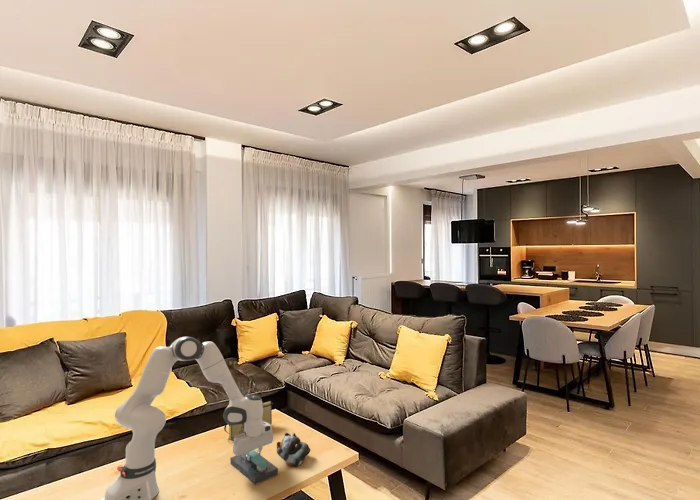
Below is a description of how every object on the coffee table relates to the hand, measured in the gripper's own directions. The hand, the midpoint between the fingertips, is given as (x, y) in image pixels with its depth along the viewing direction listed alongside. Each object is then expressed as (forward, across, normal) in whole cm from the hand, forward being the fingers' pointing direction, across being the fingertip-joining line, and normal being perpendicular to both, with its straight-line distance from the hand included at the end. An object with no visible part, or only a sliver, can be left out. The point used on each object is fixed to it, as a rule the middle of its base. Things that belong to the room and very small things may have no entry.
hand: (253, 457), depth 194 cm
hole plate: (+5, 0, 0) cm, 5 cm away
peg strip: (+3, 0, 0) cm, 3 cm away
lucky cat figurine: (+6, +18, -7) cm, 20 cm away
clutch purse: (+6, +18, +37) cm, 41 cm away
